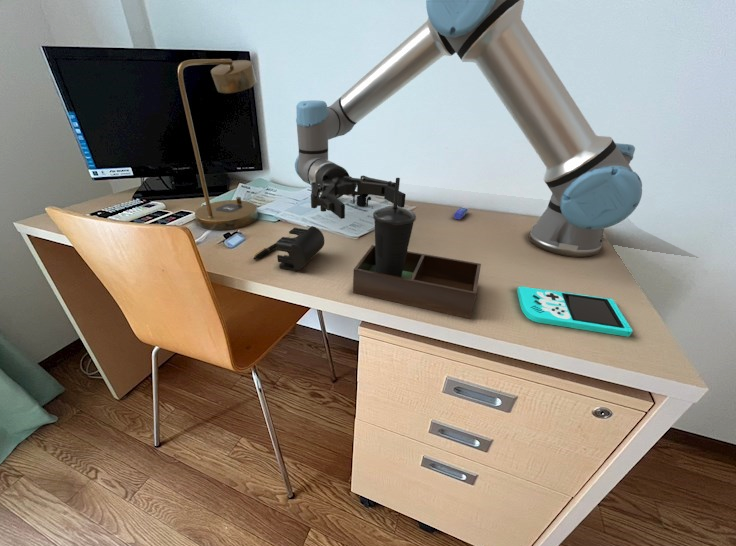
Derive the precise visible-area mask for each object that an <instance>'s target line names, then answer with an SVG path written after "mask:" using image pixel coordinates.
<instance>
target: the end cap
mask: <svg viewBox="0 0 736 546" xmlns="http://www.w3.org/2000/svg"><path fill="white" fill-rule="evenodd" d="M288 233H289V235H296V237H290V238H287V237H288V236H282V237H281V238H280V239H278V240H277V241H276V242H275V243H276V248H275V249H276V251H278V252H285V253H287V254H288V255H286V254H284V255H282V254H278V255H277V256H276V257H277V262H278V263H279V264H278V265H279V266H278V267H279V268H280V269H282V270H287V271H291V272H298V271H300V270H302V269H303V268H304V267H305V266H306V265H307V264H308V263H309V262H310V261H311V260H312V259H313V258H314V257H315V256H316V255H317V254H318V253H319V252H320V251H321V250H322V249H323V247H324V246H325V236H324V234H323V232H322V231H321V230H320V229H319V228H318V227H316V226H313V225H311V226H309V228H308V229H306V228H301V227H293V228H291V230H289V231H288Z"/></svg>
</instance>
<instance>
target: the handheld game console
mask: <svg viewBox="0 0 736 546" xmlns="http://www.w3.org/2000/svg"><path fill="white" fill-rule="evenodd" d="M516 293H517V297H518V301H519V306H520V310H521V312H522V313H523V315H524V316H525V317H526V318H527V319H528V320H530V321H532V322H534V323H538V324H545V325H551V326H557V327H565V328H570V329H577V330H582V331H587V332H595V333H600V334H601V333H602V334H608V335H613V336H614V335H615V336H619V337H620V336H621V337H627V338H629V337H630V336H631V335H632V334H633V329H632V327H631V325H630V324H629V322H628V320H627V319H626V318H625V316H624V314H623V313H622V311H621V309H620V308H619V306H618V305H617V303H616V301H615V300H614V299H612V298H608V297H601V296H594V295H586V294H579V293H571V292H566V291H565V292H564V291H559V290H549V289H542V288H535V287H528V286H521V285H520V286H518V288H517V291H516Z"/></svg>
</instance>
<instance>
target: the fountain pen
mask: <svg viewBox="0 0 736 546" xmlns="http://www.w3.org/2000/svg"><path fill="white" fill-rule="evenodd" d="M286 237H287V238H291V236H286ZM275 249H276V242H274V243H273V244H271V245H269V247H268V246H267V247H263V248H261V250H258V252H256V253H255V254H254V255H253V258H252V259H253V260H254V261H255V260H259V259H261V258H263V257H265V256H267V255H268V254H270V253H271V252H272V251H273V250H275Z"/></svg>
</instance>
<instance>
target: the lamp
mask: <svg viewBox="0 0 736 546" xmlns="http://www.w3.org/2000/svg"><path fill="white" fill-rule="evenodd" d="M203 65H204V66H206V65H207V66H208V65H216V66H214V67H213V68H212V69H211V70H210V74H211V78H212V80H213V83H214V85H215V89H216V91H217V92H218V93H220V94H234V93H240V92H242V91H243V92H244V91H246V90H248V89H251V88H253V86H255V85H256V84H257V82H258V81H257V76H256V72H255V69H254V66H253V62H252V61H251V60H247V59H237V60H232V58H211V59H210V58H199V59H197V58H196V59H187V60H184V61H181V62H180V63H179V64H178V66H177V79H178V86H179V90H180V95H181V99H182V103H183V108H184V112H185V117H186V121H187V126H188V130H189V135H190V138H191V139H190V140H191V143H192V148H193V152H194V157H195V160H196V165H197V170H198V174H199V178H200V183H201V188H202V192H203V197H204V201H205V204H204V205H202V206H200V207H198V208H197V209H196V210H195V212H194V216H195V217H194V218H195V222H196V224H197V225H198V227H200V228H203V229H206V230H212V231H228V230H235V229H240V228H243V227H246V226H248V225H250V224H253V223H254V222H255V221H256V220H257V219H258V208H257V206H256V204H255V203H253V202H250V201H247V200H242V197H241V196H237V197H235V198H236V199H226V200H220V201H219V200H218V201H213V202H210V197H209V191H208V187H207V183H206V179H205V178H206V177H205V174H204V168H203V164H202V161H201V160H202V159H201V156H200V151H199V146H198V142H197V141H198V140H197V137H196V132H195V127H194V123H193V119H192V114H191V109H190V105H189V100H188V97H187V92H186V86H185V81H184V70H185V68H187V67H190V66H191V67H192V66H203Z"/></svg>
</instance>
